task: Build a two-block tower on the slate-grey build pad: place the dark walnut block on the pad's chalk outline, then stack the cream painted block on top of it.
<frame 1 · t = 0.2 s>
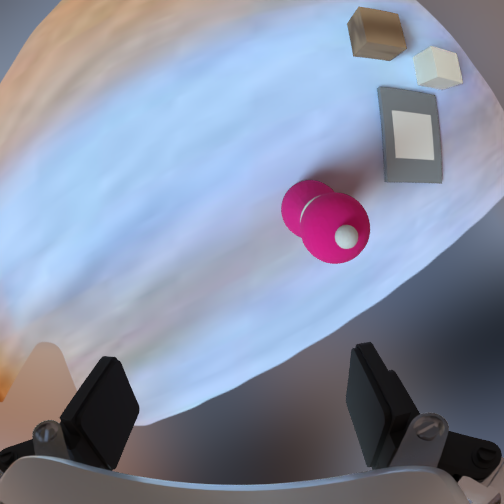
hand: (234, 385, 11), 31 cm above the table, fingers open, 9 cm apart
cream block: (427, 73, 33), on the table
build pad: (410, 136, 36), on the table
pepper mill: (304, 205, 39), on the table
walnut block: (368, 42, 32), on the table
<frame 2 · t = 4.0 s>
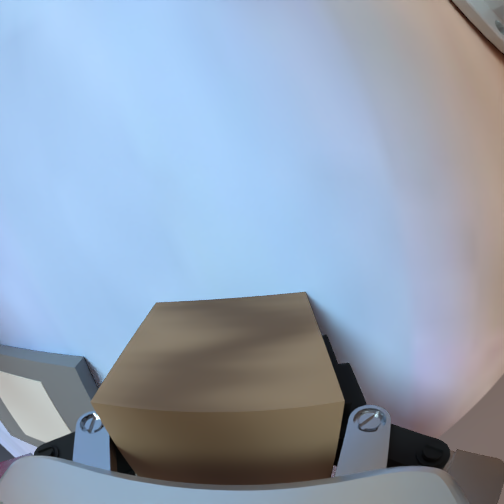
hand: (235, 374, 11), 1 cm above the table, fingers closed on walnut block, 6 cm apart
build pad: (37, 404, 14), on the table
walnut block: (237, 360, 12), on the table, touching gripper
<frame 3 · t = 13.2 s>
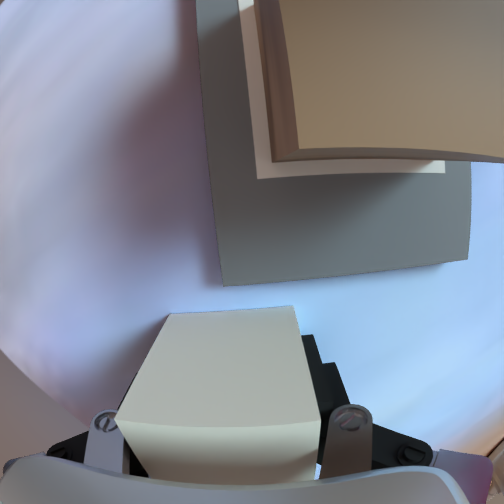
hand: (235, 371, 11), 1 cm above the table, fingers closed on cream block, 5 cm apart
cream block: (237, 360, 12), on the table, touching gripper
build pad: (343, 81, 9), on the table
walnut block: (351, 73, 8), point 1 cm above the table, touching build pad
when the fingers open (9 cm above the table, at t = 17.6 s): cream block stays where it is, resting on walnut block.
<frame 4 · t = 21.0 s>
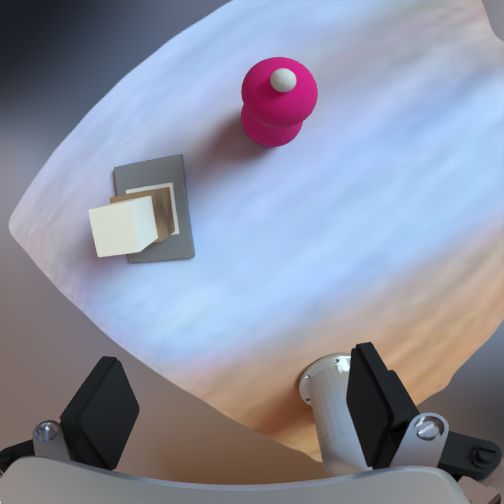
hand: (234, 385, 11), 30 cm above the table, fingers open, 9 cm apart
cream block: (135, 219, 32), point 7 cm above the table, touching walnut block
build pad: (154, 210, 39), on the table
pepper mill: (270, 123, 36), on the table
walnut block: (151, 211, 38), point 1 cm above the table, touching build pad, cream block
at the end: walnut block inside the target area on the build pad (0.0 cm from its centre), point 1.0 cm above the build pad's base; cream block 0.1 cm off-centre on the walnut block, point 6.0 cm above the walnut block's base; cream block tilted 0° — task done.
